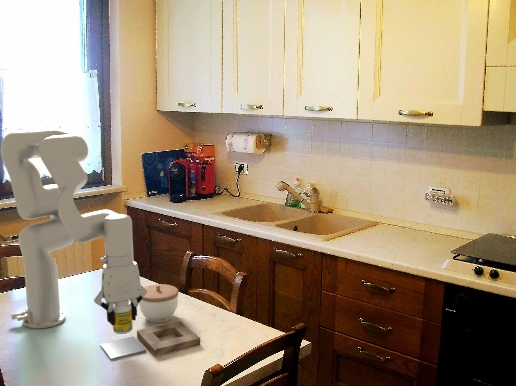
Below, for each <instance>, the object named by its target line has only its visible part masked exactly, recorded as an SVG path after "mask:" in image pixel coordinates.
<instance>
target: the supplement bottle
mask: <svg viewBox="0 0 516 386" xmlns="http://www.w3.org/2000/svg"><path fill="white" fill-rule="evenodd" d="M129 301H130V300H126V301H121V302H116V303H114V305H113V311H114V319H115V325H112V330H113V333H114V334H116V335H126V334H128V333H131V332H132V331H133V328H134V327H133V320H132V307H131V305H130V304H131V303H129Z"/></svg>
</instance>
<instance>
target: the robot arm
mask: <svg viewBox="0 0 516 386" xmlns="http://www.w3.org/2000/svg"><path fill="white" fill-rule="evenodd" d="M88 155H89V147H88V144H87V142H86V140H85V139H84V138H83V137H82V136H81V135H79V134H77V133H74V132H69V131H66V130H65V131H64V130H62V129H57V128H38V129H37V128H36V129H23V130H22V129H21V130H17V131H12V132H10V133H8V134H7V135H5V136H4V138H3V139H2V141H1V143H0V156H1V160H2V163H3V165H4V168H5V169H6V172H7V175H8V176H9V179H10V184H11V188H12V192H13V197H14V202H15V206H16V210H17V214H18V215H19V216H20V218H22V219H23V220H36V219H40V218H41V219H42V218H44V217H45V218H46V217H49V218H50V219H49V220H44V221H40V222H36V223H32V224H29V225H27V226H25V227H24V228H22V229H21V230H20V232H19V234H18V244H19V248H20V251H21V255H22V261H23V269H24V271H23V272H24V279H25V280H24V281H25V293H26V306H25V307H24V310H21V311H19V312H12V313H11V314H10V316H11V320H12V321H13V320H16V321H17V322H21V321H22V324H23V326H25V327H26V328H30V329H37V330H38V329H47V328H52V327H55V326H58V325H60V324H61V323H63V322H64V321H65V320H66V313H65V312H64V311H62V310H61V308H60V306H61V305H60V290H59V273H58V265H57V262H56V260H55V259H54V258H53V257H52V256H51V253H52V252H53V251H57V250H61V249H63V248H67V247H69V246H71V245H73V243H74V242H77V243H80V244H81V243H88V242H91V241H94V240H99V239H103V238H104V239H103V240H104V255H103V257H101V258H100V259H99V261H100V263H101V264H103V267H102V272H101V273H102V274H101V287H100V289H101V290H100V291H99V292H98V294H97V295H96V297H94V299H93V302H94V303H95V304H96V305H98V306H100V307H101V308H102V309H104V310H105V311H106V321H107V322H108V323H109V324H110V325H111V326H113V325H115V319H114V311H113V306H114V305H115V304H114V303H116V302H121V301H126V300H129V301H130V303H129V304H130V305H131V307H132V321H136V320H137V319H136V318H137V316H138V306H139V302H140V301H141V300H142V298H143V297H144V296H145V295H146V294H147V290H146V289H145V288H144V287H145V286H144V287H143V285H142V283H141V277H140V271H139V266H138V263H137V262H136V261H134V241H133V239H134V237H133V220H132V218H131V216H130V215H128V214H123V213H117V212H115V211H113V210H110V209H102V210H97V211H92V212H88V213H84V214H83V213H82V214H81V213H80V211H79V210H78V208H77V206H76V204H75V201H74V194H76V193H77V192H79V190H81V189H82V188H83V187H84V186H85V185H86V183H87V182H88V175H87V172H86V171H85V169H84V168H83V167H82V165H81V162H83V161H84V160H85V159H87V157H88ZM34 158H40V159H41V161H42V163H43V165H44V166H45V167H46V169H47V171H48V172H49V174H50V175H51V177H52V179H53V181H54V182H55V184H47V185H46V184H45V185H43V181H42V178H41V173H40V171H39V169H38V168H37V167H36V166H35V164H34V163H32V162H31V161H30V160H29V159H34ZM102 299H104V300H105V302H104V301H102Z"/></svg>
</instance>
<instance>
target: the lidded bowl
mask: <svg viewBox="0 0 516 386" xmlns="http://www.w3.org/2000/svg"><path fill="white" fill-rule="evenodd" d="M144 288H145V289H146V290H147V294H146V295H145V296H144V297H143V298H142V300H141V301H140V302H139V303H138V306H139V309H140V311H141V314H142V315H143V316H144V317H145V318H146V319H147V320H148V321H149V322H152V323H164V322H166V321H168V320H170V319H171V317H172V316H173V315H174V313H175V312H176V310H177V308H178V302H179V289H178V288H177V287H176V286H173V285H171V284H165V283H163V284H162V283H161V284H160V283H159V284H151V285H147V286H144Z"/></svg>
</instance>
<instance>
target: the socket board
mask: <svg viewBox="0 0 516 386" xmlns="http://www.w3.org/2000/svg"><path fill="white" fill-rule="evenodd" d="M172 335H175V336H176V337H175V338H171V339H167V340H163V341H161V340H160V338H164V337H167V336H172ZM136 339H137V340H138V341H140V342H141V344H142V346H143V347H144V348H145V349H146V350H148V351H149V352H150V353H151V355H152V356H153V355H154V356H156V357H159V356H158V355H160V356H162V354H164V355H167V354H166V353H168V354H171V353H170V352H172V353H175V351H176V352H180V351H184V350H188V349H191V348H194V347H199V346H201V337H200V336H199V335H198V334H196V333H195V332H194V331H193V330H192V329H190V328H189V326H187V325H186V324H185V323H184V322H183V321H181V320H175V321H173V322H169V323H164V324H160V325H155V326H151V327H146V328H142V329H137V330H136ZM154 356H153V357H154Z"/></svg>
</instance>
